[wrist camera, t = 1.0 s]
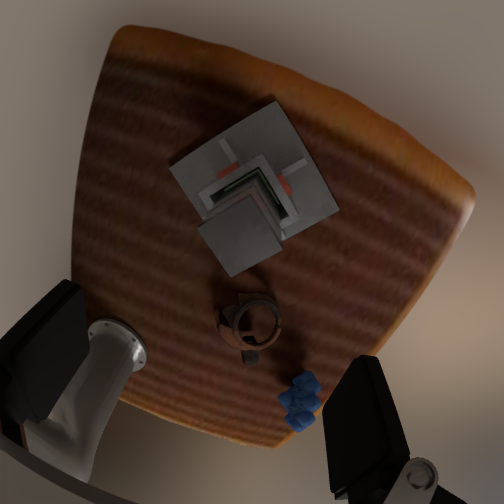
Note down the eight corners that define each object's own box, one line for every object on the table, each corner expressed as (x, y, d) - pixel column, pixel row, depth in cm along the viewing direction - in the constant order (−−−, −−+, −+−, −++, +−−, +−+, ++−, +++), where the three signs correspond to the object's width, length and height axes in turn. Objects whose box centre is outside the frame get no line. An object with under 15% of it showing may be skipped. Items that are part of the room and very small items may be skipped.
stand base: (235, 263, 41) (225, 306, 31) (171, 167, 37) (136, 180, 27) (337, 208, 38) (361, 235, 27) (276, 101, 33) (279, 87, 23)
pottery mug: (205, 291, 44) (219, 303, 37) (262, 278, 47) (285, 286, 40) (220, 361, 46) (236, 383, 38) (273, 344, 49) (296, 362, 41)
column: (248, 210, 37) (229, 280, 20) (230, 181, 36) (193, 227, 19) (278, 193, 36) (286, 250, 19) (260, 164, 35) (250, 193, 18)
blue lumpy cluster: (288, 349, 47) (290, 404, 36) (324, 357, 47) (334, 410, 36) (267, 391, 52) (265, 442, 40) (300, 397, 52) (303, 447, 41)
